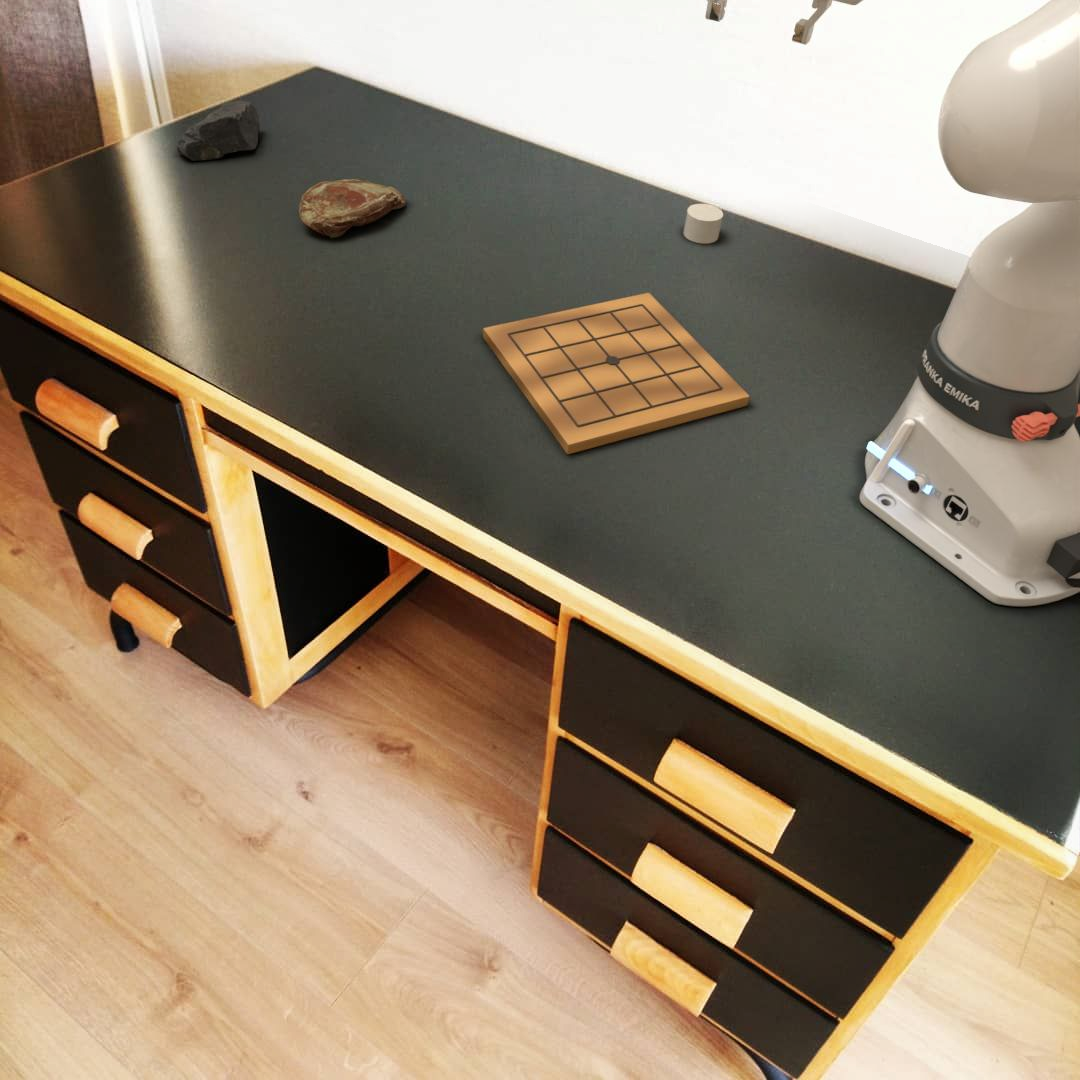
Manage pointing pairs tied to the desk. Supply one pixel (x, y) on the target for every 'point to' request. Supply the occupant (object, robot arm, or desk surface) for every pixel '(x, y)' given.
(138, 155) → the desk surface
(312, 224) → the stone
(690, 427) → the desk surface
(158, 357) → the desk surface
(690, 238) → the game stone
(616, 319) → the grid board
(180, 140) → the rock
